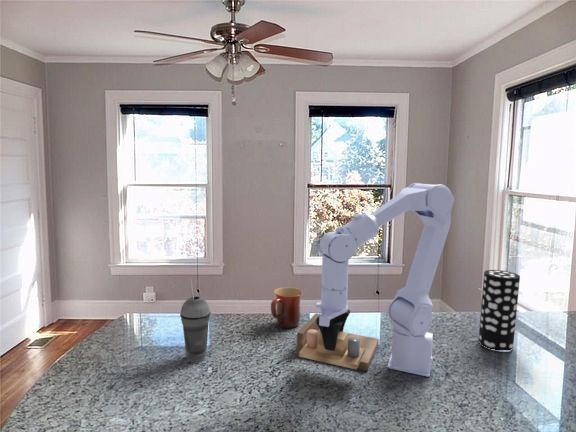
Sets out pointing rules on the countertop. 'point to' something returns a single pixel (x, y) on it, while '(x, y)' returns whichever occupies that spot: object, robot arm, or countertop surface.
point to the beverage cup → (195, 327)
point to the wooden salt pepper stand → (343, 354)
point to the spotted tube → (498, 309)
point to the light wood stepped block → (365, 342)
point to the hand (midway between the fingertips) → (332, 345)
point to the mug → (287, 306)
